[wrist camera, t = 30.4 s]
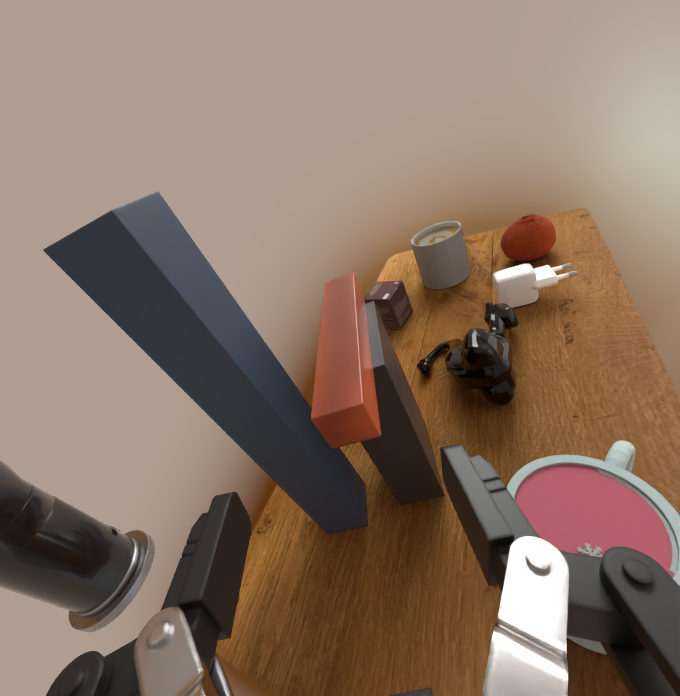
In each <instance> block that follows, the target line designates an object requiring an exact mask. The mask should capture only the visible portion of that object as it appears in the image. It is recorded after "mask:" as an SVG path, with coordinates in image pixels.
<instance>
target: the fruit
mask: <svg viewBox="0 0 680 696" xmlns="http://www.w3.org/2000/svg"><path fill="white" fill-rule="evenodd" d="M555 240H556V233H555V228H554V226H553V224H552V223H551V222H550V221H549V220H548V219H547V218H545V217H542V216H539V215H527V216H524V217H522V218H520V219H518V220H516V221H515V222H514V223H512V224H511V225H510V227H509V228H508V229H507V230H506V231H505V233H504V235H503V237H502V240H501V248H502V250H503V252H504V253H505V255H506V256H507V257H508V258H510V259H513V260H516V261H529V260H534V259H538V258H540V257H542V256H544V255H545V254H547V253H548V251H549V250H550V249H551V248H552V247H553V245H554V243H555Z"/></svg>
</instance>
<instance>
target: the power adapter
mask: <svg viewBox="0 0 680 696" xmlns="http://www.w3.org/2000/svg"><path fill="white" fill-rule="evenodd" d="M570 267H571V264H570V263H568V264H564V265H561V266H558V267H553V268H551V267H550V266H549V265H545V266H542V267H538V268H535V269H533V267H532V266H531V265H530V264H527V263H525V264H521V265H518V266H514V267H510V268H507V269H504V270H500V271H497V272H495V273H494V274H493V277H492V278H493V285H494V292H495V296H496V300H497V303H498V304H500V303H505V304H507V305H509V306H510V307H511V308H514V307H518V306H522V305H526V304H530V303H533V302H535V301H537V299H538V289H542V288H546V287H550V286H554V285H557V284H558V280H560V279H563V278H567V277H571V276H575V275H577V274H578V272H577V271H572V272H568V273H565V274H562V275H557V276H556V274H555V271H558V270H563V269H566V268H570Z"/></svg>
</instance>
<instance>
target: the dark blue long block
mask: <svg viewBox="0 0 680 696" xmlns="http://www.w3.org/2000/svg"><path fill="white" fill-rule="evenodd" d="M44 252H45V253H46V254H47V255H48V256H49V257H50V258H51V259H52V260H53V261H55V263H56V264H57V265H58V266H59V267H60V268H61V269H62V270H63V271H64V272H65V273H66V274H67V275H68V276H69V277H70V278H71V279H72V280H73V281H74V282H75V283H76V284H77V285H79V287H80V288H81V289H82V290H83V291H84V292H85V293H86V294H87V295H88V296H90V298H91V299H93V301H94V302H96V304H98V306H99V307H100V308H101V309H102V310H103V311H104V312H105V313H106V314H107V315H109V316H110V318H112V320H114V322H116V324H117V325H118V326H119V327H121V329H123V331H125V332H126V334H128V335H129V336H130V337H131V338H132V339H133V340H134V341H135V342H136V343H137V344H138V345H139V346H140V347H141V348H142V349H143V350H144V351H145V352H146V353H147V354H148V355H149V356H150V357H151V358H152V359H153V360H154V361H155V362H156V363H157V364H158V365H159V366H160V367H161V368H162V369H163V370H164V371H165V372H166V373H167V374H168V375H169V376H170V377H171V378H172V379H173V380H174V381H175V382H176V383H177V384H178V385H179V386H180V387H181V388H182V389H183V390H184V391H185V392H186V393H187V394H188V395H189V396H190V397H191V398H192V399H193V400H194V401H195V402H196V403H197V404H198V405H199V406H200V407H201V408H202V409H203V410H204V411H205V412H206V413H207V414H208V415H209V416H210V417H211V418H212V419H213V420H214V421H215V422H216V423H217V424H218V425H219V426H220V427H221V428H222V429H223V430H224V431H225V432H226V433H227V434H228V435H229V436H230V437H231V438H232V439H233V440H234V441H235V442H236V443H237V444H238V445H239V446H240V447H241V448H242V449H243V450H244V451H245V452H246V453H247V454H248V455H249V456H250V457H251V458H252V459H253V460H254V461H255V462H256V463H257V464H258V465H259V466H260V467H261V468H262V469H263V470H264V471H265V472H266V473H267V474H268V475H269V476H270V477H271V478H272V479H273V480H274V481H275V482H276V483H277V484H278V485H279V486H280V487H281V488H282V489H283V490H284V491H285V492H286V493H287V494H288V495H289V496H290V497H291V498H292V499H293V500H294V501H295V502H296V503H297V504H298V505H299V506H300V507H301V508H302V509H303V510H304V511H305V512H306V513H307V514H308V515H309V516H310V517H311V518H312V519H313V520H314V521H315V522H316V523H317V524H318V525H319V526H320V527H321V528H322V529H323V530H324V531H325V532H326V533H327V534H328V533H333V532H338V531H343V530H348V529H353V528H358V527H364V526H368V523H367V507H366V492H365V483H364V482H363V480H362V479H361V478H360V476H359V475H358V473H357V472H356V470H355V469H354V468H353V466H352V465H351V463H350V462H349V461H348V459H347V458H346V456H345V455H344V453H343V452H342V451H341V449H340V448H339V447H338V448H334V449H332V448H331V446H330V445H329V444H328V442H327V441H326V440H325V438H324V437H323V435H322V434H321V433H320V431H319V430H318V429H317V427H316V426H315V425H314V423H313V422H312V420H311V411H312V408H311V407H310V405H309V404H308V403H307V401H306V400H305V398H304V397H303V396H302V394H301V393H300V391H299V390H298V388H297V387H296V386H295V384H294V383H293V381H292V380H291V379H290V377H289V376H288V374H287V373H286V371H285V370H284V369H283V367H282V366H281V365H280V363H279V361H278V360H277V359H276V357H275V356H274V355H273V353H272V352H271V350H270V349H269V347H268V346H267V345H266V343H265V342H264V340H263V339H262V337H261V336H260V335H259V333H258V332H257V330H256V329H255V328H254V326H253V325H252V323H251V322H250V321H249V319H248V318H247V316H246V315H245V313H244V312H243V311H242V309H241V308H240V306H239V305H238V304H237V302H236V301H235V299H234V298H233V297H232V295H231V294H230V292H229V291H228V290H227V288H226V287H225V285H224V284H223V282H222V281H221V279H220V278H219V277H218V275H217V274H216V272H215V271H214V270H213V268H212V267H211V265H210V264H209V263H208V261H207V260H206V258H205V257H204V255H203V254H202V253H201V251H200V250H199V248H198V247H197V246H196V244H195V243H194V241H193V240H192V239H191V237H190V236H189V234H188V233H187V231H186V230H185V229H184V227H183V226H182V224H181V223H180V221H179V220H178V219H177V217H176V216H175V214H174V213H173V212H172V210H171V209H170V207H169V206H168V204H167V203H166V202H165V200H164V199H163V197H162V196H161V195H160V193H159V192H155V193H153V194H150V195H148V196H146V197H143V198H141V199H138V200H136V201H133V202H131V203H128V204H126V205H124V206H121V207H119V208H116V209H114V210H111V211H110V212H108V213H106V214H105V215H103V216H101V217H99V218H97V219H96V220H94V221H92V222H90V223H89V224H87V225H85V226H83V227H82V228H80V229H78V230H77V231H75V232H73V233H71V234H70V235H68V236H66V237H64V238H63V239H61V240H59V241H58V242H56V243H54V244H52V245H50V246H49V247H47V248H45V249H44Z"/></svg>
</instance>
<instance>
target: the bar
mask: <svg viewBox="0 0 680 696" xmlns="http://www.w3.org/2000/svg"><path fill="white" fill-rule="evenodd" d="M311 420H312V422H313V423H314V425H315V426H316V427H317V429H318V430H319V431H320V433H321V434H322V435H323V437H324V438H325V440H326V441H327V442H328V444H329V445H330V446H331V448H332V449H334V448H338V447H342V446H346V445H349V444H353V443H357V442H361V441H364V440H368V439H372V438H375V437H379V436H381V430H380V422H379V413H378V405H377V397H376V389H375V381H374V373H373V365H372V356H371V348H370V340H369V332H368V324H367V316H366V308H365V299H364V294H363V292H362V290H361V288H360V285H359V283H358V281H357V278H356V276H355V274H354V272H351V273H348V274H346V275H343V276H341V277H339V278H336V279H334V280H331V281H329V282H326V283H325V285H324V296H323V305H322V314H321V324H320V334H319V343H318V353H317V363H316V373H315V382H314V393H313V402H312V411H311Z"/></svg>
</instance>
